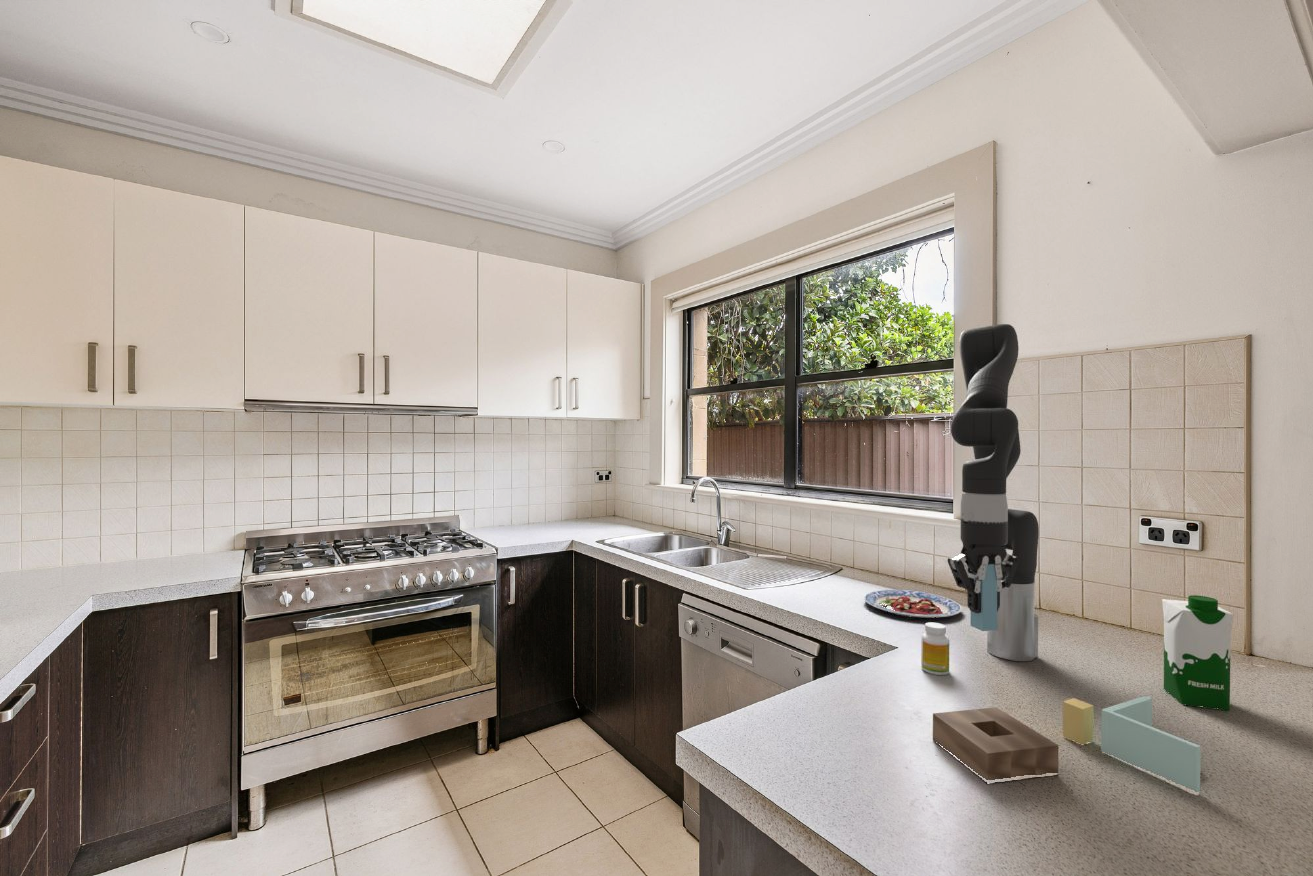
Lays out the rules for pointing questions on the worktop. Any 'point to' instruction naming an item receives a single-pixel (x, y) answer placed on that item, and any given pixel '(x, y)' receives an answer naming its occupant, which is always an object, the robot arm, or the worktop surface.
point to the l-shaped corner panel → (1149, 743)
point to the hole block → (995, 743)
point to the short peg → (1078, 721)
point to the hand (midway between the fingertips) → (983, 610)
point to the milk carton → (1197, 651)
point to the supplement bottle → (935, 649)
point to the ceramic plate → (913, 603)
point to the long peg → (987, 602)
